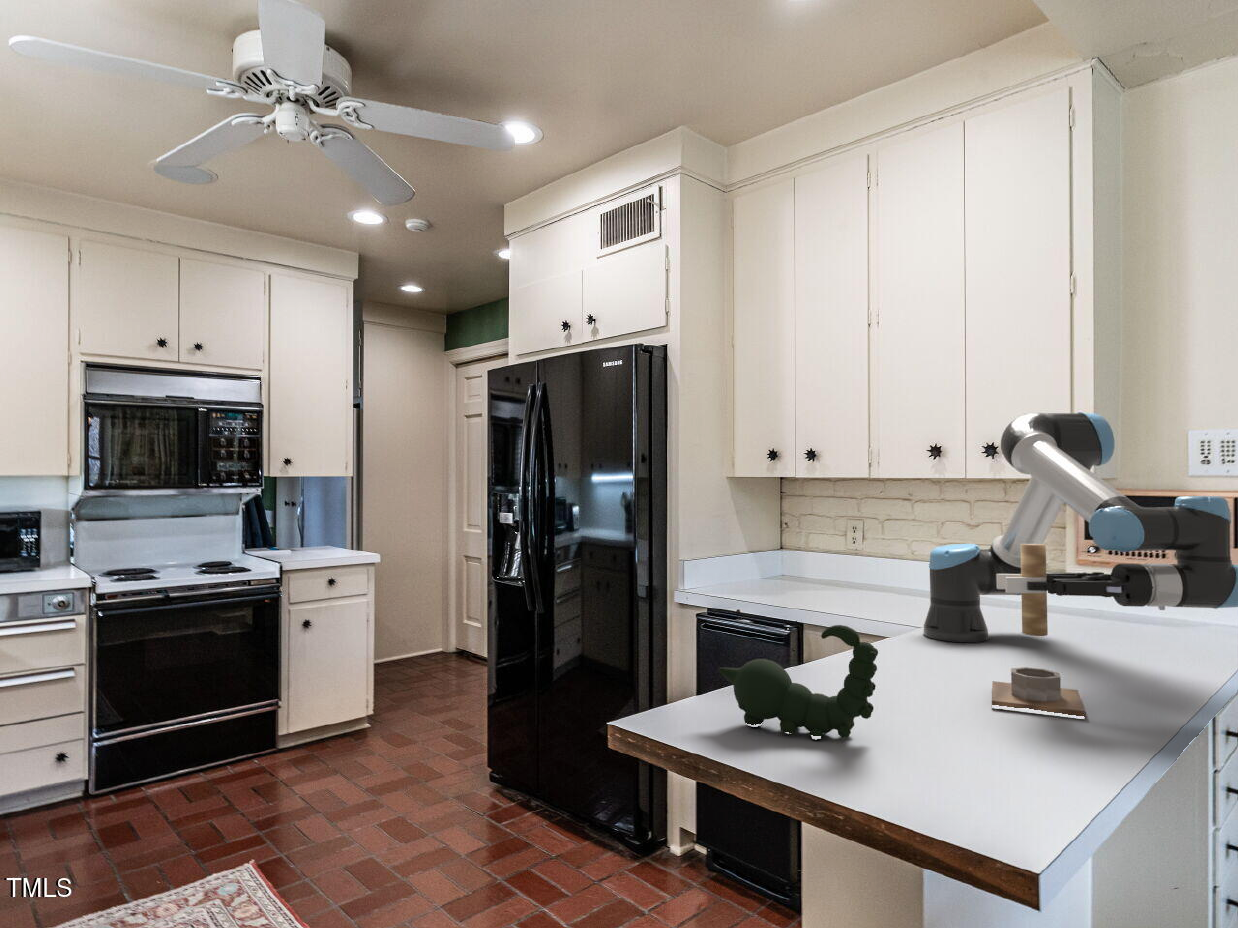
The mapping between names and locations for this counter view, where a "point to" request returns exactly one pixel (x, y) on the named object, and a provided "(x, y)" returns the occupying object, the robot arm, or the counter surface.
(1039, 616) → the oak cylinder
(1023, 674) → the cup bracket
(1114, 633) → the counter surface
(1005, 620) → the counter surface
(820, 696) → the toy figurine
